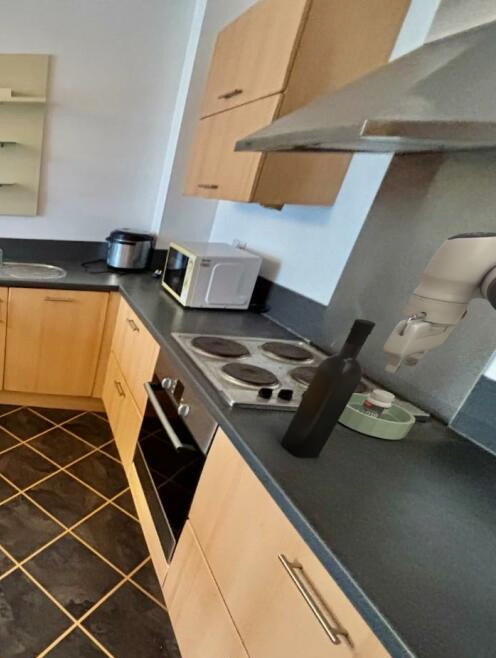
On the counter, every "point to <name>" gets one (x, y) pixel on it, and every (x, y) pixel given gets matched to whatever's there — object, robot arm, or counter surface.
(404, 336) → the robot arm
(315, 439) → the wine bottle
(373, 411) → the pill bottle
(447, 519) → the counter surface
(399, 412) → the bowl
